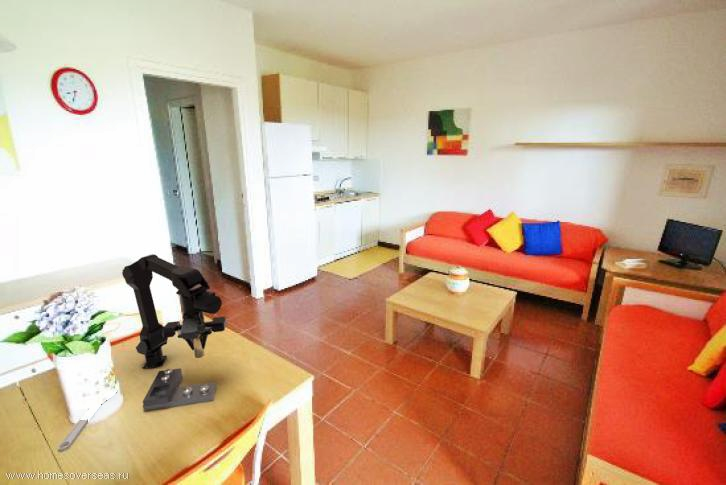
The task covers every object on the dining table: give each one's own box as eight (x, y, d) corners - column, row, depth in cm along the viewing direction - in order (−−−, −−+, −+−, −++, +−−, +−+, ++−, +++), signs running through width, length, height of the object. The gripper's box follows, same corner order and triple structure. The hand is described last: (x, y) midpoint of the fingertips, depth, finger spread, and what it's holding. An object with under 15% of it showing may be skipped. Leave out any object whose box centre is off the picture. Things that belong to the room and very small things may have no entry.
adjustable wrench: (68, 452, 93) (66, 447, 92) (42, 455, 92) (40, 449, 91) (121, 389, 116) (120, 384, 116) (100, 390, 116) (99, 386, 115)
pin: (194, 353, 119) (191, 329, 117) (207, 351, 120) (203, 328, 118) (192, 359, 115) (188, 335, 113) (204, 358, 116) (201, 334, 114)
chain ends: (159, 381, 120) (157, 369, 119) (220, 373, 124) (218, 361, 123) (143, 412, 106) (140, 399, 105) (212, 401, 110) (210, 389, 109)
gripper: (152, 322, 103) (161, 367, 107) (219, 315, 107) (224, 359, 112) (164, 306, 114) (171, 347, 118) (224, 300, 118) (228, 340, 122)
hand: (198, 349), depth 117 cm, fingers closed on pin, 3 cm apart
